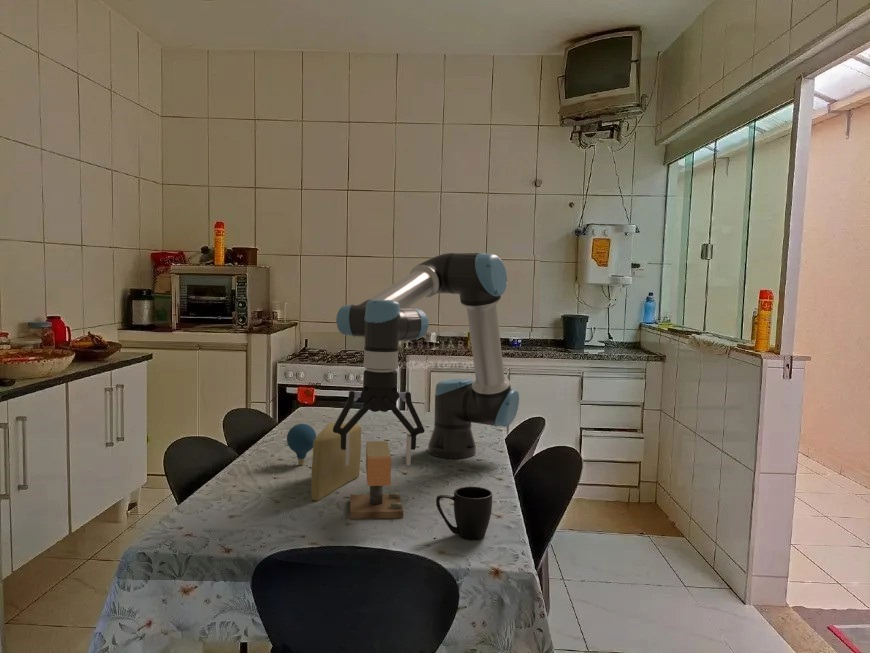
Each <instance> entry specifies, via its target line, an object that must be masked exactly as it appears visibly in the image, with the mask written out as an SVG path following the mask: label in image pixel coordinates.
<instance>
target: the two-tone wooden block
mask: <svg viewBox="0 0 870 653" xmlns="http://www.w3.org/2000/svg"><path fill="white" fill-rule="evenodd" d="M365 445H366V446H365V472H366V484H367V487H370V486H383V487H387V486H388V487H389V486H391V483H392V482H391V481H392V480H391V478H392V477H391V476H392V457H391V456H392V455H391V453H390V451H391V450H390V448H389V444H388V441H383V440H381V441H373V440H372V441H371V440H370V441H366V444H365Z"/></svg>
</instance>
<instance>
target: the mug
mask: <svg viewBox="0 0 870 653" xmlns="http://www.w3.org/2000/svg"><path fill="white" fill-rule="evenodd" d="M435 498H436V499H435V501H436V502H435V505H436V507H437V508H436V509H437V510H438V512H439V514H440V515H441V518H442V519H443V520H444V521H443V522H445V524H446V525H447V527H448V529H449V530H450V531H451V532H452V533H453V534H454V535H458V536H459V538H461V539H463V540H466V541H473V542H474V541H480V540H484V538H485V536H486V533H487V529H488V528H489V524H490V520H491V515H492V512H493V510H492V509H493V492H492V491H491V490H490V489H487V488H484V487H481V486H462V487H458V488H456V489H454V491H453V496H452V495H446V494H440V495H437V496H436V497H435ZM441 499H449V500H451V501H453V514H454V519H455V524H456V526H454V525H452V524H451V523H450V521H449V520H448V519H447V517H446V515H445V513H444V511H443V509H442V507H441V503H440V500H441Z"/></svg>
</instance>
